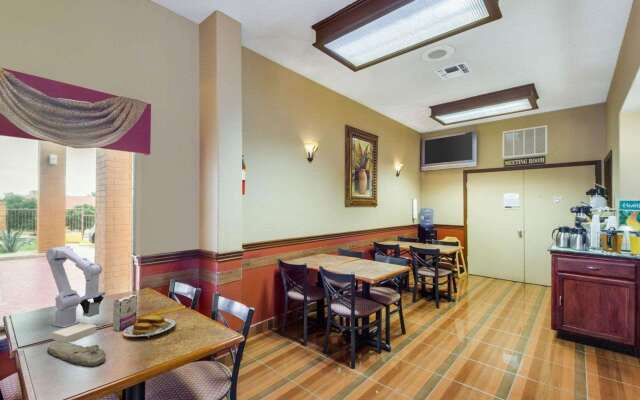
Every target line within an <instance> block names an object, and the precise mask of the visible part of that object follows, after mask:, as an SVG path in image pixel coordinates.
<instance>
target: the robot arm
mask: <svg viewBox="0 0 640 400" xmlns="http://www.w3.org/2000/svg"><path fill="white" fill-rule="evenodd" d="M73 250H74V249H73V248H72V247H71V246H69V245H65V246H59V247H58V246H57V247H49V248H48V249H47V250H46V252H45V256H46V260H47V262H48V265H49V268H50V270H51V271H50V272H51V273H52V275H53V279H54V282H55V285H56V288H57V292H58V295H56V297H55V298H54V299H55V307H56V309H57V310H56V311H55V312H54V313H55V314H54V323H53V324H52V326H55V327H60V328H63V329H64V328H67V327H70V326H74V325H77V324H80V322H81V321H80V320H77V308H78V307H79V305H80V306H81V308H82V313H83V312H84V314H88V310H89V304H90V303H91V301H90V300H92V299H93V302H96V303H99V307H100V305H101V303H102V301H103V300H104V296H106V291H105V290H104V291H103V290H102V291H99V286H100V284H99V283H100V274H101V273H102V271H103V267H102V265H100V263H94V262H92V261H91V260H89V259H88V258H87V257H81V256H79V255H78V254H77V253H76V252H74V251H73ZM66 261H71V262H72V263H74V264H75V267H76V268H78V269H79V270H80V271H82V272H83V273H82V274H83V276H84V279H85V290H84V291H85V295H82V296H81V295H79V294H78V291H77V290H73V289H72V287H71V284H70V281H69V279H68V275H67V273H66V270H65V267H64V263H65V262H66Z"/></svg>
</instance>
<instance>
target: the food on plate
mask: <svg viewBox="0 0 640 400" xmlns="http://www.w3.org/2000/svg"><path fill="white" fill-rule="evenodd" d="M176 323H177V322H176V321H175V320H173V319H169V318H164V317H163V316H162V315H159V314H148V315H147V314H146V315H143V316H141V317H138V319H137V321H136V322H135V323H134V325H132V326H130V327H128V328H126V329H124V330H123V333H122V335H123V336H124V337H125V339H126V340H128V338H134V337H147V338H150V336H155V335H158V334H161V333H164V332H167V330H171V329H172V327H174V326H175V325H176Z"/></svg>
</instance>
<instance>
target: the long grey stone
mask: <svg viewBox="0 0 640 400" xmlns="http://www.w3.org/2000/svg"><path fill="white" fill-rule="evenodd" d="M47 352H48V353H49V354H50V355H52V356H53V357H56V358H60V359H61V360H62V361H67V362H70V363H72V364H74V365H75V364H77V365H79V366H81V367H84V366H87V367H92V366H93V367H97V366H98V365H100V364H102V363H104V361H106V355H107V354H106V353H105V351H104V350H103V349H101V348H100V345H99V344H94V345H90V346H85V347H84V346H83V345H82V346H81V344H75V343H73V342H70V343H67V342H65V341H64V342H58V341H56V342H53V343H52V344H50V345H49V346H48V347H47Z"/></svg>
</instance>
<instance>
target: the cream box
mask: <svg viewBox="0 0 640 400" xmlns="http://www.w3.org/2000/svg"><path fill="white" fill-rule="evenodd" d="M97 327H98V326H97V325H94V324H90V323H88V322H87V323H86V322H81V323H77V324H74V325H71V326H68V327H65V328H64V327H63V328H62V329H58V330H56V331H53V332H52V333H51V335H52V336H51V340H52V341H55V342H64V341H65V342H67V343H69V342H70V343H73V342H76V341H78V340H80V339H83V338H86V337H89V336H91V335H94V334H96V333H97V331H98V330H97ZM77 339H78V340H77Z"/></svg>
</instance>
